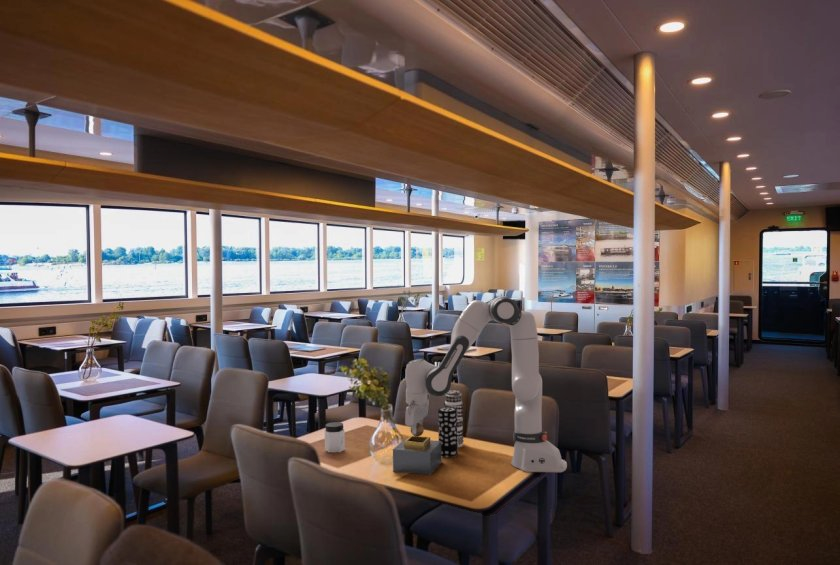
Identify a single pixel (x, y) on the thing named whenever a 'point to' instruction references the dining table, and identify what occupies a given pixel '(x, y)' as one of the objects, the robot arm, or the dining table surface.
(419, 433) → the brown ball
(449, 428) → the spotted tube
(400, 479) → the dining table surface
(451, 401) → the black and white canister
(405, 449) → the blue-grey block
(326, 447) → the jar
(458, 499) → the dining table surface
